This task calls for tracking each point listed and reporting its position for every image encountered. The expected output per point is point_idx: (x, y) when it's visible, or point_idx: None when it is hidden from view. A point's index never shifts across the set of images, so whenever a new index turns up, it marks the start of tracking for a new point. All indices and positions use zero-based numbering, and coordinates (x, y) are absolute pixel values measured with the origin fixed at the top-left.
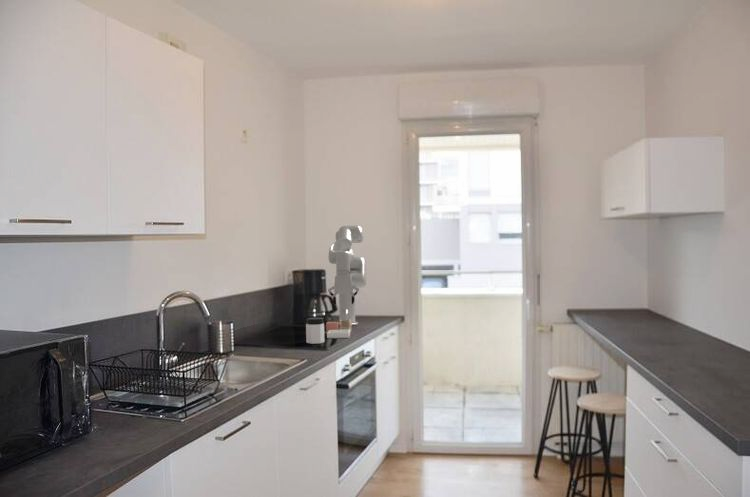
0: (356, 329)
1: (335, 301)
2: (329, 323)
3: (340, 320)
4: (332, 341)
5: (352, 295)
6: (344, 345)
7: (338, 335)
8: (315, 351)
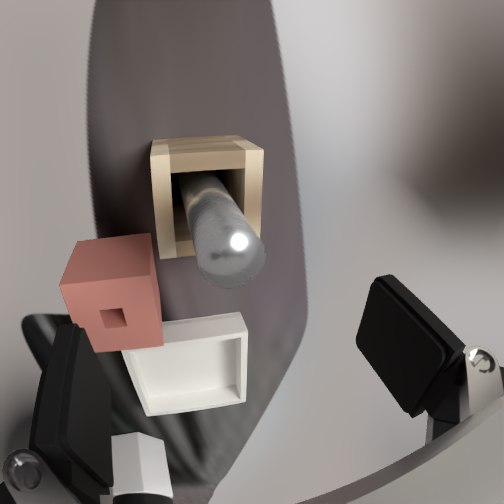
0: (273, 83)
1: (109, 427)
2: (108, 350)
3: (155, 194)
4: (188, 432)
5: (434, 427)
6: (237, 456)
7: (197, 399)
8: (182, 489)
